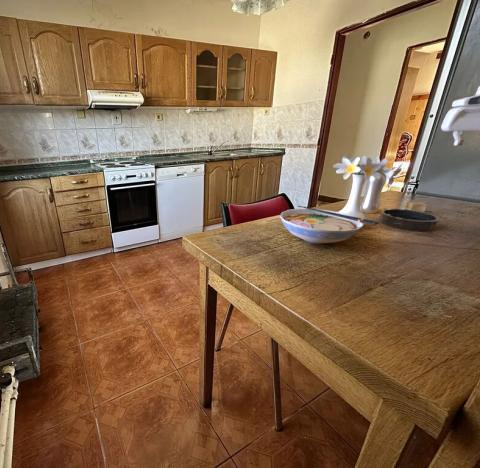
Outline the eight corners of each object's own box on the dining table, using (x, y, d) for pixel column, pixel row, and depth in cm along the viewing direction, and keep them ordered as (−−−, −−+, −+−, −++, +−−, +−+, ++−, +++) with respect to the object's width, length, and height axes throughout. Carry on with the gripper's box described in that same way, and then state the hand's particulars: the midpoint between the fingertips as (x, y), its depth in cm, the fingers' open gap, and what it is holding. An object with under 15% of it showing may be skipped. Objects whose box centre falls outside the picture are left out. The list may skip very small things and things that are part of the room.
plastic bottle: (362, 214, 106) (375, 165, 99) (355, 210, 112) (366, 163, 105) (380, 215, 105) (394, 165, 97) (372, 211, 111) (385, 163, 104)
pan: (422, 220, 97) (425, 210, 96) (445, 234, 84) (450, 223, 83) (372, 217, 103) (375, 207, 102) (387, 229, 90) (390, 219, 88)
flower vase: (380, 239, 82) (404, 158, 73) (316, 227, 94) (330, 156, 85) (384, 228, 91) (406, 155, 82) (325, 218, 103) (339, 153, 94)
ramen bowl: (260, 234, 89) (262, 211, 86) (303, 223, 99) (307, 202, 96) (331, 263, 68) (337, 234, 65) (377, 245, 78) (385, 220, 75)
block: (417, 212, 105) (421, 202, 104) (423, 215, 102) (427, 204, 100) (404, 211, 107) (407, 201, 105) (408, 214, 103) (412, 203, 102)
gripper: (533, 97, 79) (512, 144, 84) (446, 102, 87) (432, 145, 92) (552, 94, 74) (529, 145, 79) (458, 100, 81) (442, 146, 86)
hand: (476, 145), depth 85 cm, fingers open, 8 cm apart
